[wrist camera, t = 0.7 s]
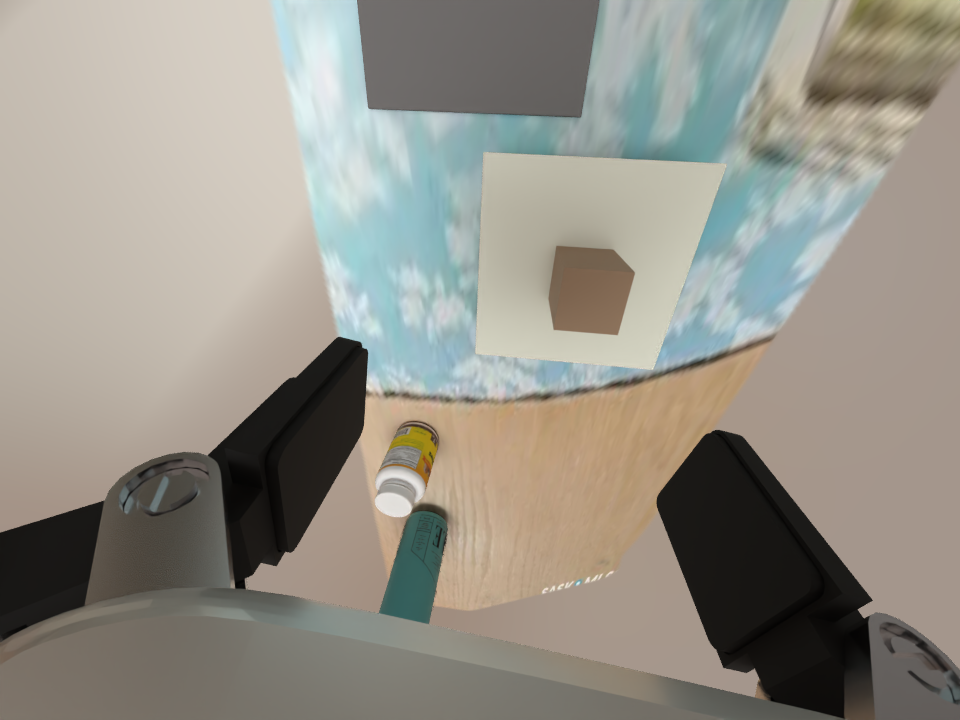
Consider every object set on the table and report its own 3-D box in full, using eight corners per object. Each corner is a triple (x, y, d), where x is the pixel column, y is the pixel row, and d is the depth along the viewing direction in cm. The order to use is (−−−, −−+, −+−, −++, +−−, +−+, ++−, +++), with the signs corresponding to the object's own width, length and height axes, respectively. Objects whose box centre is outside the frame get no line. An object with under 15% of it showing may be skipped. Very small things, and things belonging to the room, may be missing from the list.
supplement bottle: (434, 456, 46) (413, 528, 37) (394, 444, 45) (363, 513, 37) (444, 427, 43) (424, 497, 34) (401, 414, 42) (370, 481, 34)
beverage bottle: (400, 511, 53) (342, 682, 36) (429, 494, 50) (380, 672, 33) (431, 532, 55) (390, 704, 38) (460, 517, 52) (430, 696, 35)
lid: (719, 163, 22) (786, 166, 16) (649, 363, 30) (678, 411, 24) (484, 152, 23) (472, 151, 17) (476, 348, 31) (466, 391, 25)
